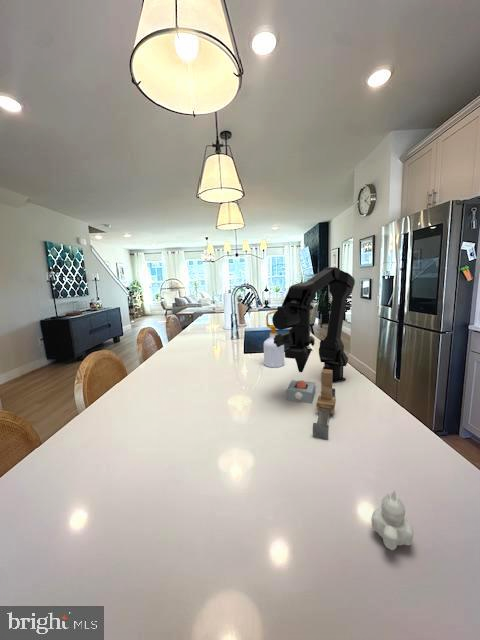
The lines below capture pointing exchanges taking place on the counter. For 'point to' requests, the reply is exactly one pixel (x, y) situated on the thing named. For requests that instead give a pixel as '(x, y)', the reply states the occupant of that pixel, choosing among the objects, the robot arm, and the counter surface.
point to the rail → (322, 422)
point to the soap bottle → (273, 348)
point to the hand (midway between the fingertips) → (300, 371)
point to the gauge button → (301, 384)
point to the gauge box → (300, 392)
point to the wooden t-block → (326, 391)
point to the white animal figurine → (392, 522)
